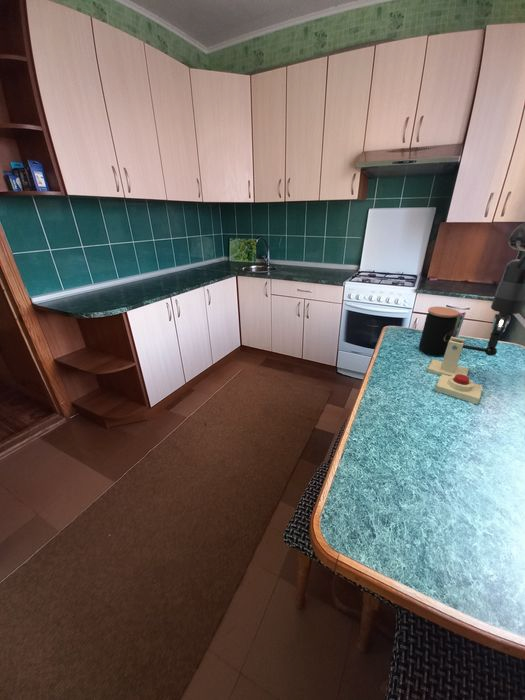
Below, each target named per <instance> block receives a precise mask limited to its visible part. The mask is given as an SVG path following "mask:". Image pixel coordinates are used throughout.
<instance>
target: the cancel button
mask: <svg viewBox="0 0 525 700" xmlns="http://www.w3.org/2000/svg"><path fill="white" fill-rule="evenodd" d="M469 380H471V379H470V377H469V376H468V375H467V376H465V375H461V374H457V375H455V378H454V382H456V383H458V384H461V385H468V383H469Z"/></svg>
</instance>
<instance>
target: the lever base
mask: <svg viewBox="0 0 525 700" xmlns="http://www.w3.org/2000/svg"><path fill="white" fill-rule="evenodd" d="M452 340H455V341H461V343H459V342H454V341H452ZM465 343H466V339H464V338H459V337H458V338H455V337H451V339H450V340H449V342H448V346H447V349H446V352H445V355H443V359H442V361H441V360H438V359H432V360H431V362H430V363H429V365H428V367H427V369H426V372H428V373H431V374H434V375H438V376H441V375H442V374H443V375H447V376H453V375H457V374H461V375H465V376H467V377H468V374H469V370H470V368H468V367H465V366H461V365H458V364H459V361H460V359H461V354H462V351H463V349H464V348H463V345H465Z"/></svg>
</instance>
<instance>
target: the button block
mask: <svg viewBox="0 0 525 700" xmlns="http://www.w3.org/2000/svg"><path fill="white" fill-rule="evenodd" d="M454 378H455V375H453V376H447V375H443V374H442V375H440V377H439V379H438V381H437V383H436V385H435V388H434V391H435V392H437V393H441V394H442V395H443V394H444V395H447V396H450V397H453V398H456V399H459V400H463V401H466V402H468V403H472V404H475V405H479V402H480V400H481V396H482V391H483V387H484V386H483V384H482V385H481V384H478V383H474V381H473V380H472V379H470V380H469V383H468V385H461V384H458V383H456V382H454Z"/></svg>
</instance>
